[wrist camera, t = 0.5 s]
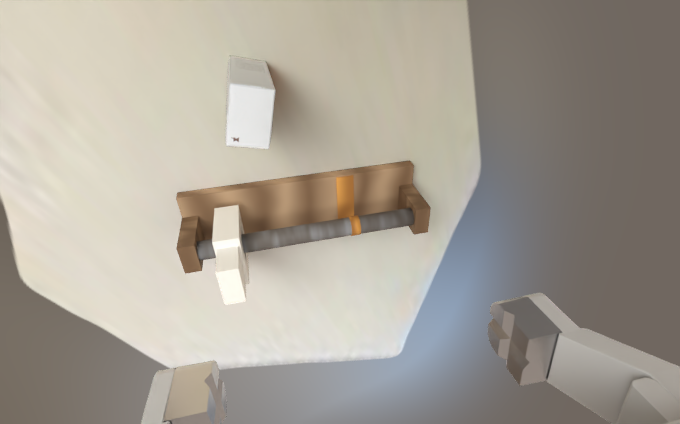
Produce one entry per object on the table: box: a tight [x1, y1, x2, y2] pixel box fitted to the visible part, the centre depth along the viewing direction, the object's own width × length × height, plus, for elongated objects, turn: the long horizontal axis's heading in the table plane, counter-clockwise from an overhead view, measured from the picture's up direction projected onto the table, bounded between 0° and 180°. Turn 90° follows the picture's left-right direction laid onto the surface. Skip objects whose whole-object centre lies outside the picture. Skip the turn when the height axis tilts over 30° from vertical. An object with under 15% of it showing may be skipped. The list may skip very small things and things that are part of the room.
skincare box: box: [226, 56, 276, 149], centre depth 41 cm, size 6×4×12 cm
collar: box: [212, 205, 249, 305], centre depth 48 cm, size 3×7×11 cm, turn 2°
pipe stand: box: [176, 161, 430, 273], centre depth 53 cm, size 32×10×8 cm, turn 92°
